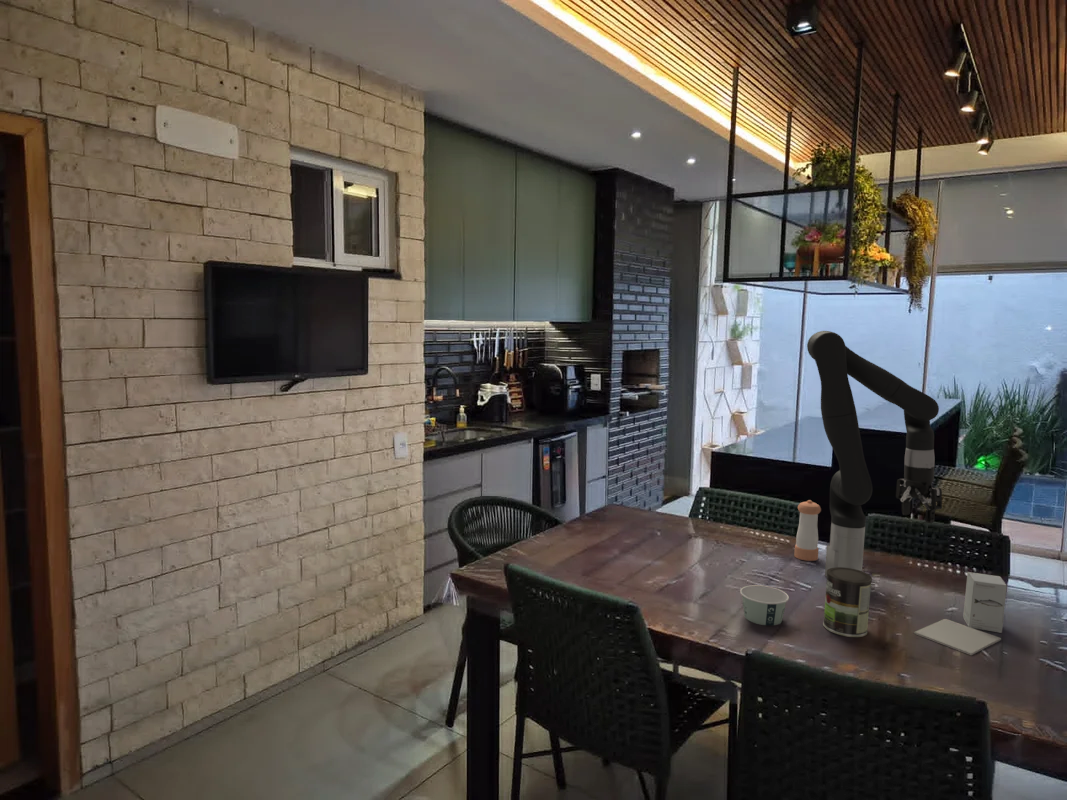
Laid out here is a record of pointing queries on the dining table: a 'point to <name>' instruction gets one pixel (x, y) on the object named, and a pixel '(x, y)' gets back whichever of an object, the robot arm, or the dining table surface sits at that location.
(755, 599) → the food container
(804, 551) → the pepper shaker
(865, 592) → the coffee can
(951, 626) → the mat
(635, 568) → the dining table surface
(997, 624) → the supplement box
